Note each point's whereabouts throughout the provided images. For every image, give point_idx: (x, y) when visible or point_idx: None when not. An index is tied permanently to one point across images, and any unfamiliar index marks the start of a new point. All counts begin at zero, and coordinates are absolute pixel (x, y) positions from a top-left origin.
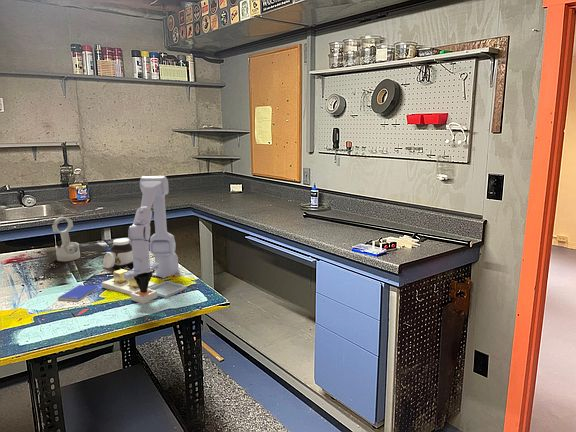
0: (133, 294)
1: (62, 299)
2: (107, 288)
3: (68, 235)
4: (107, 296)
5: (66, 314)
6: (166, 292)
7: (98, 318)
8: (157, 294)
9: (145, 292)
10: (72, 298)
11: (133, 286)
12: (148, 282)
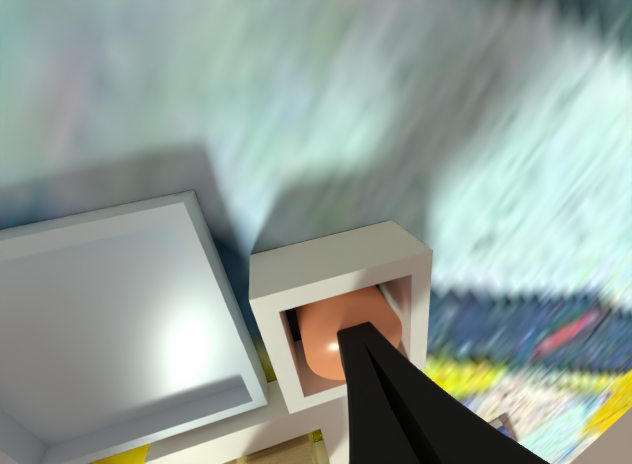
0: (424, 343)
1: None
2: None
3: None
4: None
5: (601, 340)
6: (125, 305)
7: (618, 225)
8: (228, 298)
9: (357, 322)
10: (510, 437)
11: (314, 457)
12: (364, 435)
